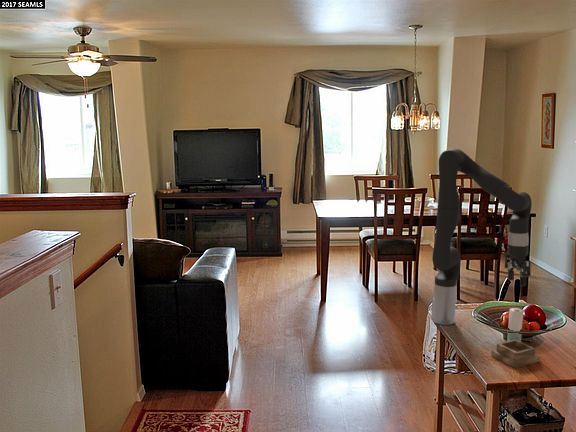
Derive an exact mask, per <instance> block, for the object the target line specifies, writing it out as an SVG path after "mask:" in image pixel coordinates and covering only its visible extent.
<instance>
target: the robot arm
mask: <svg viewBox="0 0 576 432" xmlns="http://www.w3.org/2000/svg"><path fill="white" fill-rule="evenodd" d="M458 172H460V173H463V174H464V175H466V176H467V177H469V178H470V179H472V180H473V181H474V182H475V183H476V184H477V185H478V186H479V187H480V189H482V190H483V191H484V192H487V194H489V195H491V196H492V197H494V198H496V199H497V200H499V201H500V203H501V204H503V205H504V206H505V207H506V208H507V209H509V210H510V211H512V215H511V217H510V219H509V223H508V226H509V227H508V229H509V231H508V237H507V239H508V240H507V253H506V254H505V258H504V268H505V269H506V270H507V279H508V280H509V281H514V280H515V279H514V278H515V269H516V270H517V272H518V273H519V275H520V277H519V287H526V286H527V279H528V278H527V277H531V271H532V270H531V265H532V264H531V261H530V260H526V257H527V256H528V255H529V243H530V242H529V241H530V239H529V220H530V216H531V211H532V202H533V201H532V197H531V196H530V195H529V193H527V192H525V191H520V192H516V191H515V190H513V188H511V186H510V184H508V183H507V182H506V181H504V180H502V179H501V178H499V177H497V176H496V175H495V174H493V173H491V172H489V171H488V170H486V169H485V168H483V166H481V165H480V164H478V163H477V162H476V161H474V160H473V159H472V158H471V157H470V156H469V155H467V154H466V153H465V152H464V151H463V150H462V149H458V148H450V149H446V150H444V151H443V152H441V153H440V155H439V158H438V175H439V176H438V181H439V182H438V194H437V195H438V199H437V208H436V209H437V211H436V228H435V238H434V245H433V250H432V251H433V252H432V256H431V257H432V259H431V260H432V264H433V267H434V268H435V269H436V270H438V273H437V274H436V275H435V277H434V286H433V287H434V289H433V290H434V291H433V298H432V301H431V320H432V321H433V323H435V324H438V325H441V326H451V325H453V324H455V320H456V319H455V318H456V317H455V316H456V301H457V284H458V280H459V277H460V271H461V260H462V259H461V253H460V252H459V250H458V249H457V248H455V247H454V246H451V243H452V238H453V235H454V233H455V231H456V228H457V226H458V223H459V221H460V216H461V199H460V196H459V191H458V187H457V179H458Z"/></svg>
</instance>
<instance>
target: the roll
mask: <svg viewBox="0 0 576 432" xmlns="http://www.w3.org/2000/svg"><path fill="white" fill-rule="evenodd" d="M508 313H509V315H508V325H507V326H508V327H507V329H508V328H509V329H510V330H513V331H520V330H521V329H522V330H523V319H524V318H523V317H524V310H523V309H522V308H517V307H512V308H509V311H508ZM506 337H507V340H506V341H510V340H514V339H516V340H518V341H520V342H522V334H519V333H508V332H507V336H506Z"/></svg>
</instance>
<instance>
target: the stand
mask: <svg viewBox="0 0 576 432" xmlns="http://www.w3.org/2000/svg"><path fill="white" fill-rule="evenodd" d="M490 353H491V354H490V356H491V357H493V358H495V359H496V360H499V361H501V362H503V363H504V364H506V365H509V366H510V367H512V368H514V369H519V368H522V367H526V366H531V365H533V364H536V363H539V362H541V356H539V355H538V354H536V348H535V347H533V346H530V345H528V344H527V343H524V342H522V341H521V342H520V341H518V340H516V339H514V340H510V341H507V340H506V341H503V342H499V343H497V344H496V349H492V350H491V352H490Z"/></svg>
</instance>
